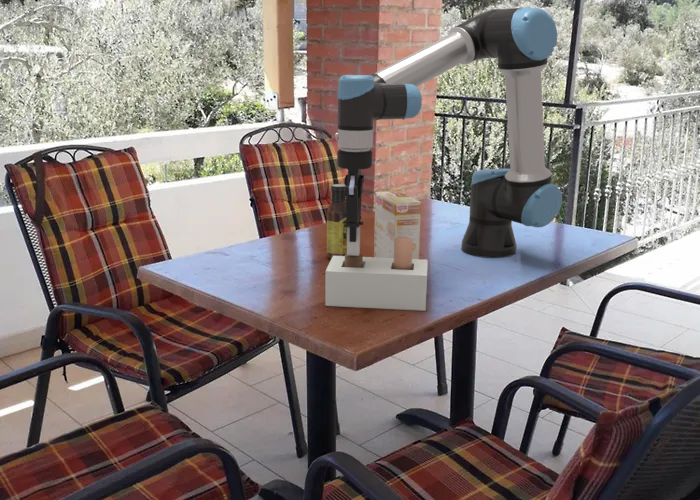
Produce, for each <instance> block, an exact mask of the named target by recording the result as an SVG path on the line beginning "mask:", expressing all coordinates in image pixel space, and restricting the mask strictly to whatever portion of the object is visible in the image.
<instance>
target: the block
mask: <svg viewBox="0 0 700 500" xmlns="http://www.w3.org/2000/svg"><path fill="white" fill-rule="evenodd" d="M428 261H429V259H425V258H424V259H420V258H419V259H412V270H397V269H394V258H377V257H374V256H372V257H371V256H363V266H362V268H351V267H345V256H333V257H332V259H330V261H329V263H328V265H327V267H326V270H325V276H324V277H325V283H324V284H325V290H324V291H325V298H324V299H325V300H324V301H325V302H324V303H325V306H326V307H342V308H343V307H344V308H360V309H361V308H363V309H366V308H367V309H383V310H384V309H385V310H402V311H403V310H404V311H405V310H406V311H424V312H425V311H427V288H428V287H427V284H428Z"/></svg>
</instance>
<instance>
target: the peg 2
mask: <svg viewBox="0 0 700 500" xmlns="http://www.w3.org/2000/svg"><path fill="white" fill-rule="evenodd" d="M412 242H413V240H412V239H411V238H407V237H398V238H395V239H394V269H397V270H412Z"/></svg>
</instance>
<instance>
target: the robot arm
mask: <svg viewBox="0 0 700 500" xmlns="http://www.w3.org/2000/svg"><path fill="white" fill-rule="evenodd" d="M557 29H558V28H557V26H556V23H555V20H554V19H553V17H552V16H551V15H550V14H549V13H548V12H547V11H546V10H544V9H543V8H538V7H530V6H526V7H525V6H523V7H514V8H512V7H511V8H498V9H497V8H495V9H489V10H487V11H485V12H481V13H480V14H478V15H475V16H473V17H470V18H469V19H467V20H466V21H463V22H461V23H459V24H458V25H455V26H453V27H452V28H450V30H449V31H448V33H447V35H446V36H444V37H442V38H440V39H438V40H436V41H434V42H432V43H430V44H429V45H426V46H425V47H423V48H421V49H419V50H417V51H415V52H413V53H411V54H409V55H407V56H405V57H403V58H402V59H400V60H398V61H395V62H394V63H392V64H390V65H388V66H386V67H385V68H382V69H380V70H379V71H376V72H375V73H373V74H371V75H369V74H368V75H367V74H344V75H342V76H339V80H338V85H337V98H336V99H337V132H335V134H334V137H335V138H338V139H337V147H338V148H339V149H338V150H337V155H336V157H337V158H336V159H337V160H336V162H337V163H336V165H337V167H338V168H339V169H342V170H343V169H346V170H347V174H346V175H345V176H344V183H343V184H344V185H345V190H346V192H345V195H346V224H344V227H347V255H353V256H359V254H361V253H360V251H361V250H360V248H361V226H363V225H364V221H361V220H362V214H361V213H362V198H363V197H362V195H363V193H364V182H365V175H364V174H362V170H367V169H371V168H372V166H373V151H372V150H371V148H373V145H374V129H373V128H374V126H373V125H374V121H379V120H403V121H404V120H406V119H412V118H415V117H417V116H418V114H419V113H420V111H421V109H422V105H423V103H422V102H423V101H422V100H423V97H422V93H421V91H420V89H419V88H418V87H419V86H421V85H423V84H425V83H427V82H429V81H430V80H432V79H434V78H436V77H438V76H440V75H442V74H443V73H445V72H447V71H450V70H451V69H453V68H455V67H457V66H459V65H460V64H462V65H469V64H471V63H473V62H475V61H477V60H482V59H483V60H484V59H497V69H498V71H499V72H501V73H502V74H503V75H504V83H505V99H506V117H507V131H508V134H507V135H508V152H509V153H508V154H509V165H510V166H509V168H486V169H479V170H476V171H474V172H473V174H472V176H471V184H470V197H469V198H470V199H469V200H470V201H469V221H468V225H467V227H466V230H465V232H464V234H463V238H462V240H461V251H462V252H463V253H466V254H467V255H471V256H475V257H482V258H490V259H491V258H496V259H497V258H506V257H510V256H513V255H515V254H516V253H517V241H516V238H515V234H514V229H513V223H518V224H520V225H523V226H525V227H532V228H544V227H545V226H547V225H549V224H551V223H552V222H553V221H554V220H555V218H556V216H557V215H558V214H559V212H560V210H561V208H562V204H563V203H562V202H563V194H562V190H561V189H560V188H559V186H557V185H556V184H554V183H552V171H551V170H550V169H549V168H547V167H546V164H545V163H546V159H545V157H546V156H545V139H544V138H545V137H544V135H545V133H544V114H543V113H544V112H543V111H544V110H543V108H544V107H543V84H542V72H543V70H544V69H545V68H546V67H547V65H548V57H550V56H551V55H553V52H554V51H555V48H554V47H556V45H557V42H558V30H557Z"/></svg>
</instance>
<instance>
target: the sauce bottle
mask: <svg viewBox="0 0 700 500" xmlns="http://www.w3.org/2000/svg"><path fill="white" fill-rule="evenodd" d="M330 190H331V202H330V204H329V206H328V208H327V211H326V215H327V216H326V218H327V219H326V254H327V255H326V257H327V258H328V259H330V260H331V259H332V257H333V256H345V254H347V227H344V224H346V195H345V192H346V190H345V183H336V184H335V183H334V184H331V186H330Z"/></svg>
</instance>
